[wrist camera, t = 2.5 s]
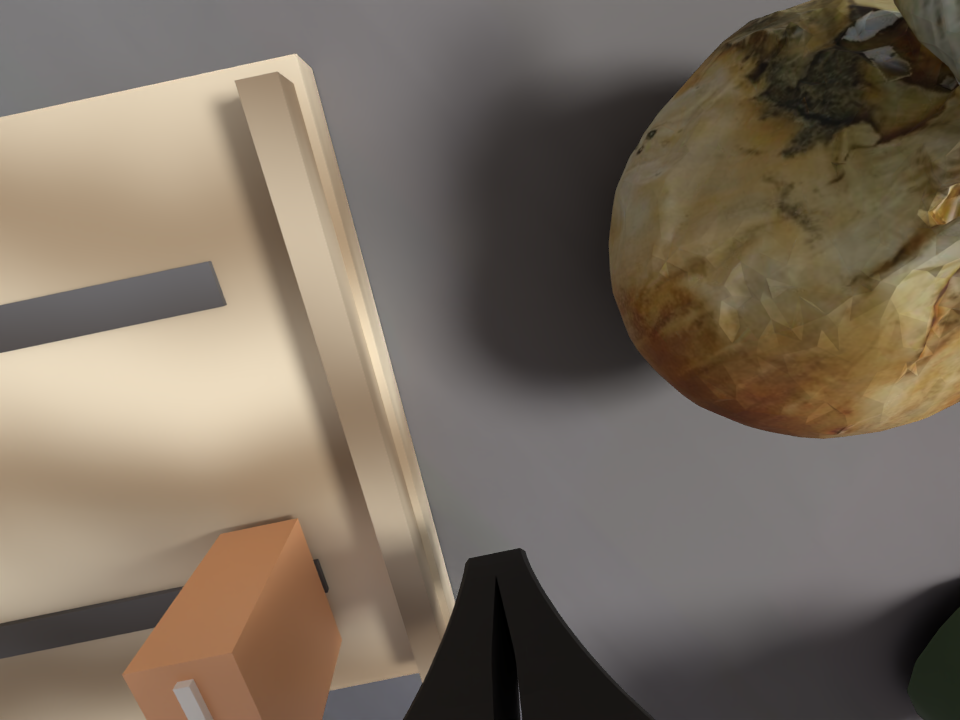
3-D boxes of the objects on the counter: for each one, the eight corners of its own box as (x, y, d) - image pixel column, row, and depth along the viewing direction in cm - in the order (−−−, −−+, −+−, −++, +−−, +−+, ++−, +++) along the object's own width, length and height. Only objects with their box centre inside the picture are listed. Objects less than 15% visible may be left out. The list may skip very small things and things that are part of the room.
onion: (505, 234, 12) (586, 285, 5) (755, -49, 11) (1440, -620, 3) (702, 419, 14) (988, 669, 7) (941, 197, 13) (1667, 188, 5)
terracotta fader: (342, 639, 14) (298, 812, 10) (271, 654, 14) (200, 832, 10) (298, 518, 13) (228, 659, 9) (220, 534, 13) (116, 682, 9)
